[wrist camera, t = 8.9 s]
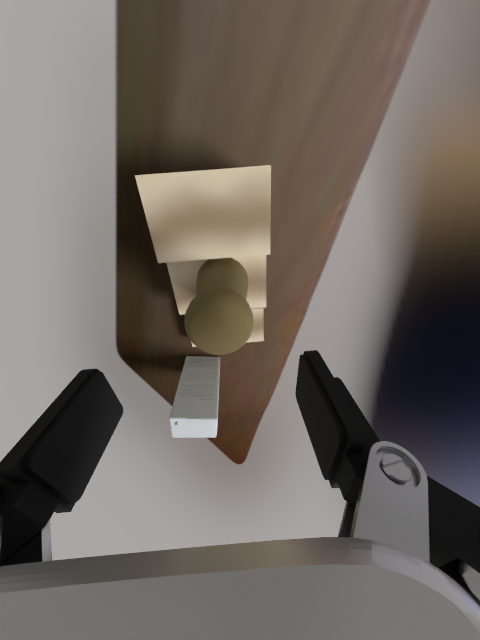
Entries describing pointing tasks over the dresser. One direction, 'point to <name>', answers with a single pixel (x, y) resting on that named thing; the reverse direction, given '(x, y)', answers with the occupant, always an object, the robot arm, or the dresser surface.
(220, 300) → the cork
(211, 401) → the skincare box
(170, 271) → the step stand
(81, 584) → the robot arm
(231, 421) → the dresser surface
